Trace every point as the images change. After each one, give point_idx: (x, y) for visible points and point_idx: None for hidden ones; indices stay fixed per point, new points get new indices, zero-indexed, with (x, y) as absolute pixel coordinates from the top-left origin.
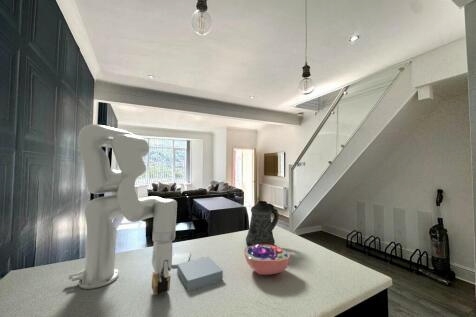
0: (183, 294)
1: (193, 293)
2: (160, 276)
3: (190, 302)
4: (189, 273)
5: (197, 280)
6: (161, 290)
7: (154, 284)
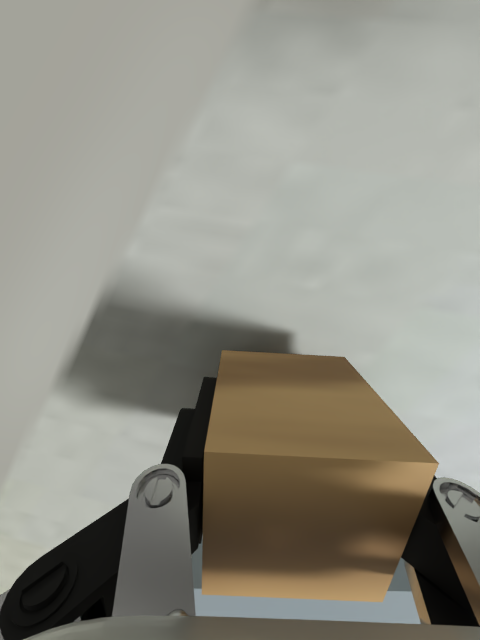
0: None
1: None
2: (121, 569)
3: (91, 492)
4: (278, 616)
5: None
6: (181, 416)
7: (230, 399)
